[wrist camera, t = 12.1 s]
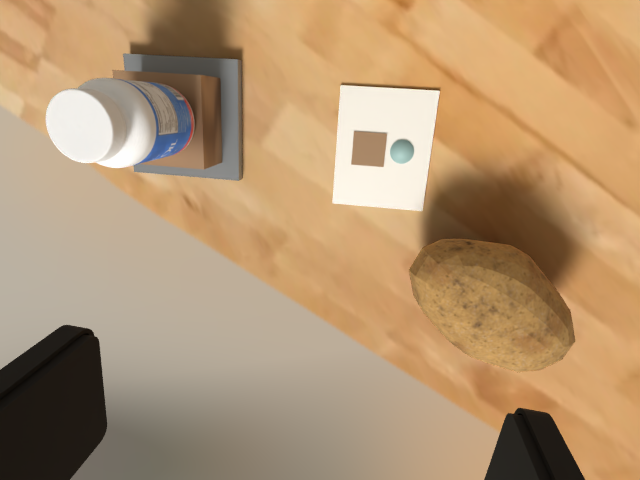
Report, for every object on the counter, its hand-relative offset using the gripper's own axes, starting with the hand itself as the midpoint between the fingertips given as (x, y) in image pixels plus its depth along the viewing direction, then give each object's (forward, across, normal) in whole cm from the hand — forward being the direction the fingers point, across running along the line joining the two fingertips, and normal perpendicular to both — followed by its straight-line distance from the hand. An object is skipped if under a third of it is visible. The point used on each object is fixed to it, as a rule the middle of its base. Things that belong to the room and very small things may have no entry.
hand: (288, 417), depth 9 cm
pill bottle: (+24, +15, -4) cm, 28 cm away
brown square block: (+28, +16, -3) cm, 32 cm away
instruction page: (+29, -2, -3) cm, 29 cm away
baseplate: (+28, +16, -3) cm, 33 cm away
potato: (+29, -12, +8) cm, 32 cm away
